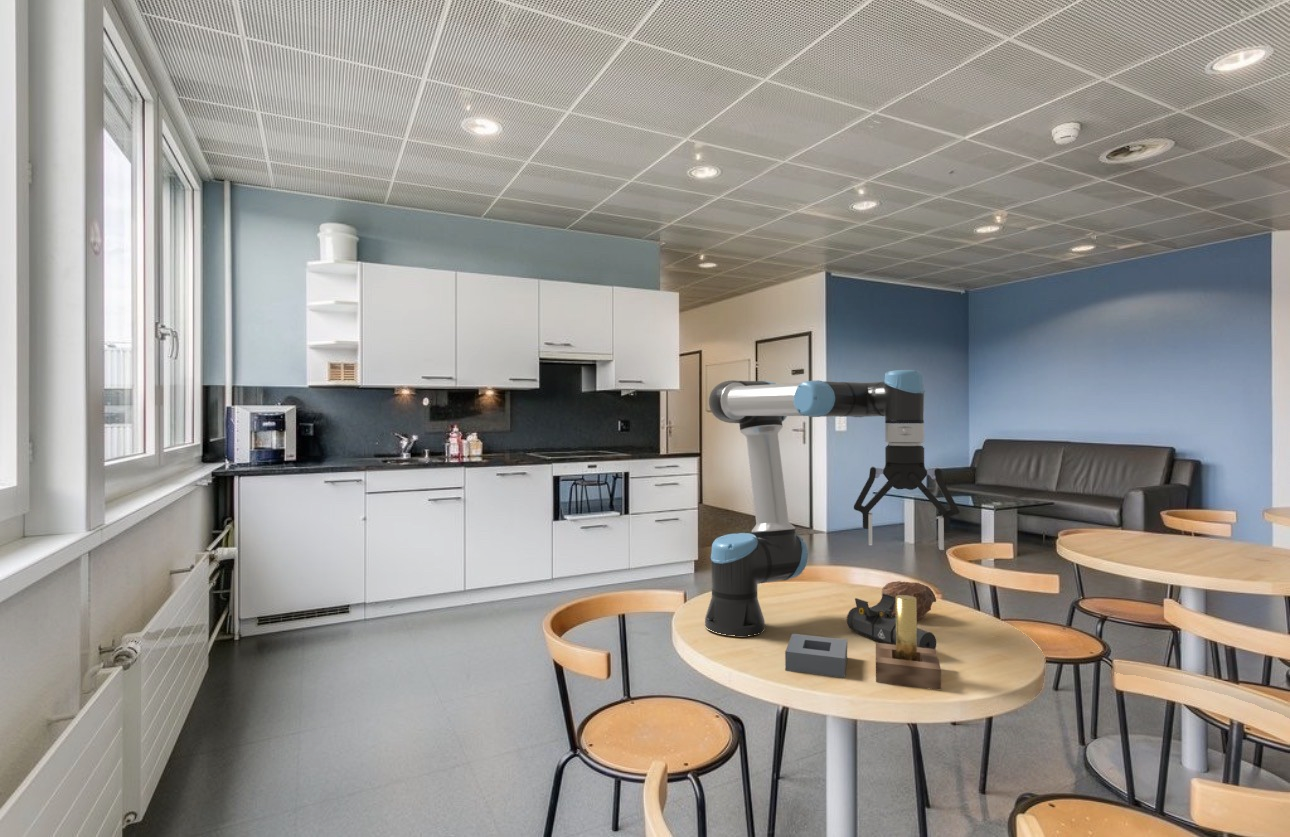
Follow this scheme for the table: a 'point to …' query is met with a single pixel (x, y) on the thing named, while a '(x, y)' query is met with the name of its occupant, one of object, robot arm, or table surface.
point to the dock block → (908, 668)
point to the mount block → (816, 655)
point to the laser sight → (882, 623)
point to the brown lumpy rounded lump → (912, 589)
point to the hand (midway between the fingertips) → (905, 546)
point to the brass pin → (906, 628)
